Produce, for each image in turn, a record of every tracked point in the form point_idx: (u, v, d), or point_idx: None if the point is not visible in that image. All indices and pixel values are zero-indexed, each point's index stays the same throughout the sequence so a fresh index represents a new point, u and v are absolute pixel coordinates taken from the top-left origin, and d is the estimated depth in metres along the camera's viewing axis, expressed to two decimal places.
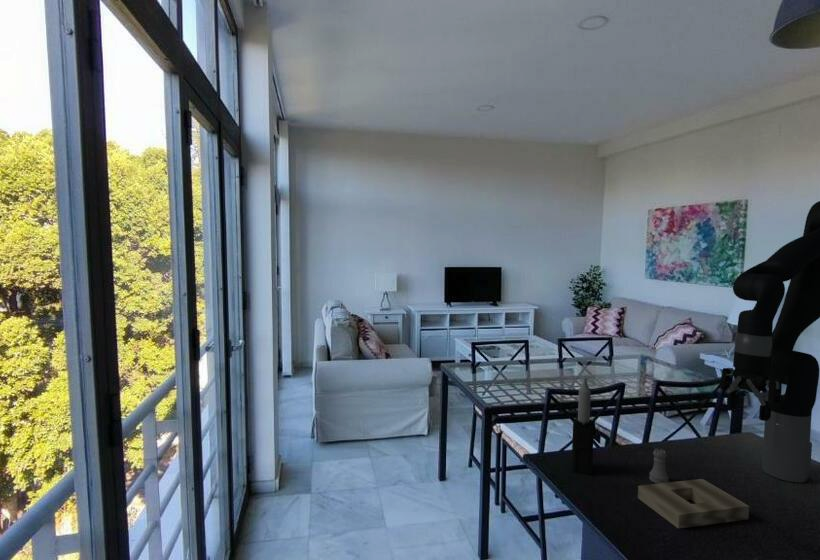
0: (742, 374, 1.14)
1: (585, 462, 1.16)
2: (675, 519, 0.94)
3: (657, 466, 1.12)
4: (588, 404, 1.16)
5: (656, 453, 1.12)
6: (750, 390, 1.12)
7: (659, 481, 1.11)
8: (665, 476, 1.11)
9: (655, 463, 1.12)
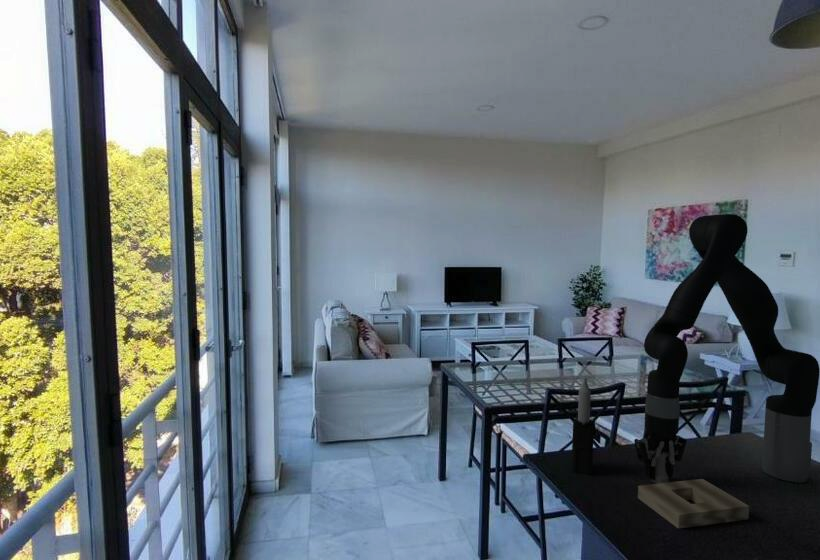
0: (659, 438, 1.11)
1: (585, 462, 1.16)
2: (675, 519, 0.94)
3: (657, 466, 1.12)
4: (588, 404, 1.16)
5: None
6: (664, 450, 1.11)
7: (659, 481, 1.11)
8: (665, 476, 1.11)
9: (655, 463, 1.12)
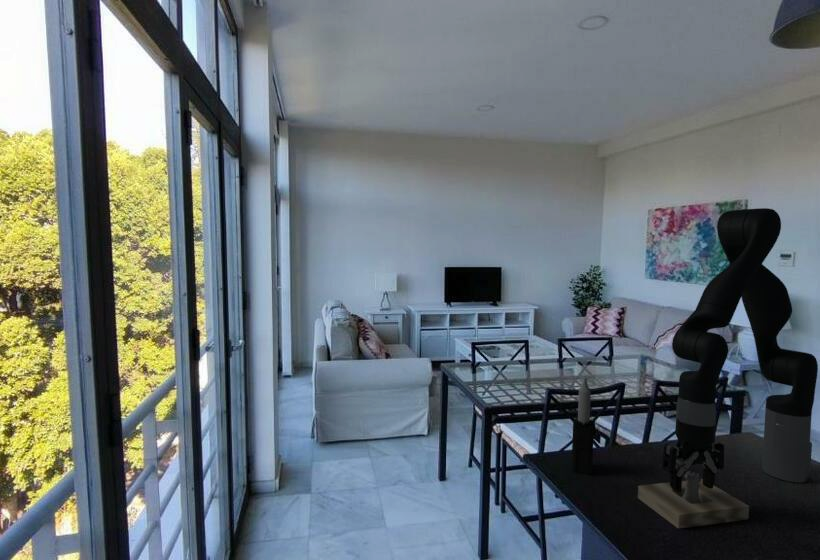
0: (693, 448, 0.99)
1: (585, 462, 1.16)
2: (675, 519, 0.94)
3: (690, 492, 1.00)
4: (588, 404, 1.16)
5: (688, 477, 1.00)
6: (701, 462, 0.99)
7: None
8: None
9: (687, 488, 1.00)
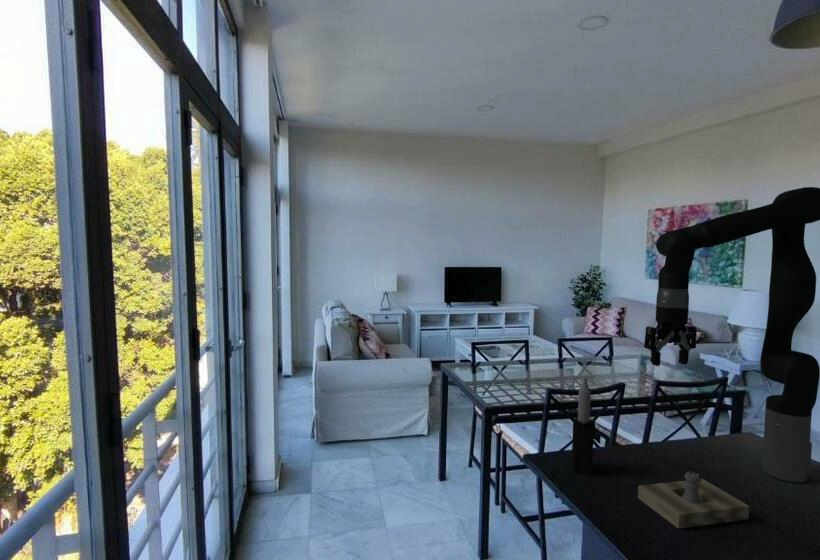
0: (670, 328, 1.18)
1: (585, 462, 1.16)
2: (675, 519, 0.94)
3: (690, 492, 1.00)
4: (588, 404, 1.16)
5: (688, 477, 1.00)
6: (677, 341, 1.19)
7: None
8: None
9: (687, 488, 1.00)
